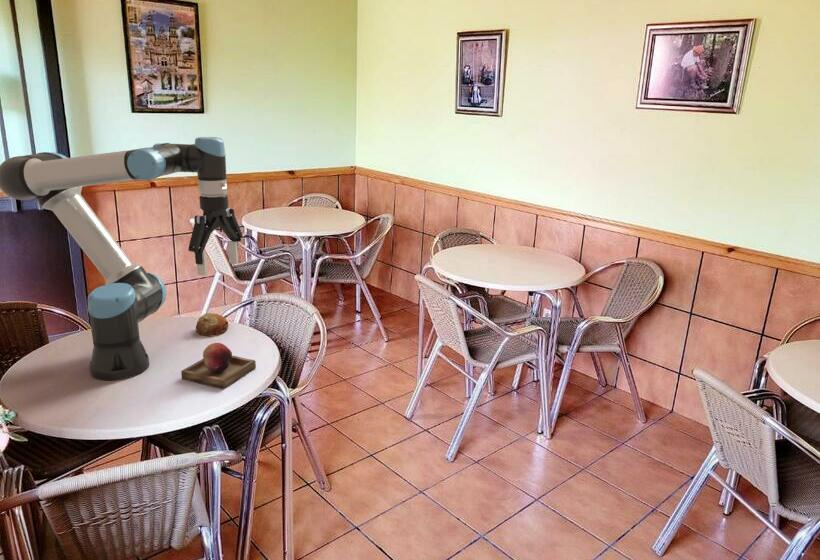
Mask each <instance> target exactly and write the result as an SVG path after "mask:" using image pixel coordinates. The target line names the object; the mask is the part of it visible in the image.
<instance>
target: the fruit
mask: <svg viewBox="0 0 820 560" xmlns="http://www.w3.org/2000/svg"><path fill="white" fill-rule="evenodd" d="M232 356H233V352H232V351H231V349H230V348H229V347H228V346H227V345H225V344H223V343H221V342H213V343H211V344H209V345H207V346H206V347H205V348H204V350H203V352H202V357H203V358H202V359H204V365H205V367H206V368H207V369H209V370H210V371H213V372H222V371H224V370H226V369H227V368H228V367H229V364H230V361H231V358H232Z"/></svg>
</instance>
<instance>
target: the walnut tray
mask: <svg viewBox="0 0 820 560" xmlns="http://www.w3.org/2000/svg"><path fill="white" fill-rule="evenodd" d="M256 367H257V366H256V360H255V359H250V358H245V357H240V356H236V355H232V358H231V361H230V364H229V367H228V368H227V369H226V370H224V371H222V372H213V371H210V370H209V369H207V368H206V367H205V365H204V359H203V358H202V359H199V360H198V361H197V362H195V363H193V364H191V365H189V366H187V367H186V368H184V369H182V370H181V372H180V374H181V380H184V381H188V382H190V383H196V384H200V385H204V386H208V387H213V388H217V389H220V390H225V389H227V388H229V387H231V386H232V385H233V384H235V383H236V382H237V381H239V380H241V379H242V378H244V377H246V376H247V375H248V374H250V373H252V370H253V371H254V370H256V369H257V368H256ZM255 368H256V369H255ZM249 372H250V373H249ZM246 374H247V375H246Z"/></svg>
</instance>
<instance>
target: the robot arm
mask: <svg viewBox="0 0 820 560" xmlns="http://www.w3.org/2000/svg"><path fill="white" fill-rule="evenodd" d="M225 150H226V148H225V142H224V140H223V139H222V138H221V137H216V136H198V137H195V139H194V143H193V144H188V143H187V144H185V143H170V142H164V143H163V142H162V143H155V144H153V146H151V147H142V148H141V147H140V148H137V149H131V150H120V151H113V152H111V151H110V152H104V153H103V152H102V153H97V154H89V155H88V154H87V155H82V156H81V155H80V156H74V157H67V156H66V155H64V154H61V153H58V152H50V151H44V152H43V151H42V152H38V153H35V154H34V153H33V154H25V155H18V156H12V157H10V158H7V159H6V160H3V162H2V163H1V164H0V190H1V192H3V193H4V194H5V195H6V196H8V197H10V198H12V199H14V200H19V201H29V200H36V201H37V202H38V203H39V205H40V206H41V207H42V209H45V210H49V211H52V212H53V213H54V215H55V216H56V218H57V219H58V220H59V222H61V224H62V225H63V226H64V228H65V229H66V230H67V231H68V233H69V234H70V235H71V237H72V238H73V239H74V241H75V242H76V243H77V244H78V246H79V247H80V249H81V250H82V251H83V252H84V254H85V255H86V256H87V257H88V259H89V260H90V261H91V262H92V264H93V265H94V266H95V267H96V269H97V270H98V271H99V273H100V274H101V275H102V277H103V278H104V279H105V281H106V282H105V285H101V286H98V287H96V288H95V289H93V290H92V291H91V292H90V293H89V294H88V295H87V312H88V316H89V323H90V331H91V337H92V345H93V348H92V355H91V359H90V361H89V365H88V367H89V374H90V376H91V377H93V378H94V379H96V380H101V381H116V380H124V379H129V378H132V377H134V376H138V375H139V374H142V373H143V372H145V371H146V370H148V369H149V367H150V356H149V354H148V353H147V351H146V349H145V347H144V345H143V343H142V341H141V339H140V338H141V337H140V329H139V323H140V322H142V321H143V320H145V319H146V318H148V317H149V316H151V315H153V314H154V313H155V312H157V311H158V310H159V309H160V308H161V307H162V306H163V305H164V303H165V302H166V297H167V289H166V285H165V284H164V281H163V280H162V279H161V277H159V276H158V275H157V274H154V273H151V272H147V271H146V270H145V269H144V267H143V265H140V264H137V263H136V264H135V263H134V262H132V260H131V259H130V257H129V256H128V255H127V254H126V253H125V251H124V250H123V249H122V247H121V246H120V244H119V243H118V241H116V239H115V238H114V236H113V235H112V234H111V233H110V231H109V230H108V229H107V227H106V226H105V225H104V224H103V222H102V221H101V219H100V218H99V217H98V216H97V214H96V213H95V212H94V210H93V209H92V207H90V204H89V203H87V201H86V200H85V198H84V197H83V196H82V191H83V187H92V186H98V185H99V186H100V185H105V184H114V183H115V184H116V183H123V182H128V181H129V182H130V181H138V180H142V181H144V180H145V181H146V180H147V181H149V180H154V179H157V178H159V177H163V176H167V175H171V174H175V173H197V184H198V185H197V186H198V187H197V188H198V194H200V195H199V197H198V200H199V209H201V211H202V213H203V214H202V215H197V214H196V215H194V225H193V228H192V233H191V237H190V240H189V245H188V249H187V250H188V252H192V253H194V258H195V259H194V260H195V264H196V271H197V273H196V274H197V275H198V276H205V277H206V276H208V266H207V265H208V264H207V253H206V251H204V250H205V249H206V246H207V243H209V239H210V237H211V235H212V233H213V232H214V231H215V230H217V229H219V228H220V229H221V230H222V232H223V233H224V234H225V236H226V237H227V238H228V240H229V241H228V240H227V246H228V247H227V250H228V262H229V264H235V265H237V264H239V252H238V251H239V242H241V241H242V238H243V232H242V230H241V228H240V226H239V223H238V221H237V218H236V215H235V210H234V208H229V197H228V195H227V194H228V185H227V184H228V181H227V180H228V179H227V161H226V159H227V158H226V151H225Z"/></svg>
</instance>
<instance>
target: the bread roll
mask: <svg viewBox="0 0 820 560" xmlns="http://www.w3.org/2000/svg"><path fill="white" fill-rule="evenodd" d="M229 325H230V324H229V321H228V320H227V318H226V317H224V316H223V315H221V314H218V313H212V312H206V313H204V314H202V315H201V316H199V318H198V320H197V321H196V324H195V332H196V333H197V335H199V336H201V337H214V336H219V335H222V334H225V333H226V332H227V331H228V330H229V329H228V328H229Z"/></svg>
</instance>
